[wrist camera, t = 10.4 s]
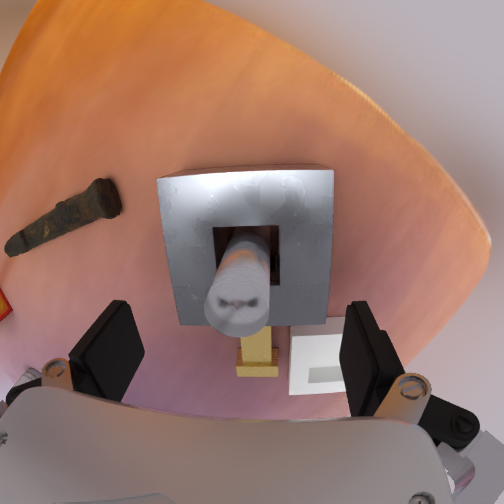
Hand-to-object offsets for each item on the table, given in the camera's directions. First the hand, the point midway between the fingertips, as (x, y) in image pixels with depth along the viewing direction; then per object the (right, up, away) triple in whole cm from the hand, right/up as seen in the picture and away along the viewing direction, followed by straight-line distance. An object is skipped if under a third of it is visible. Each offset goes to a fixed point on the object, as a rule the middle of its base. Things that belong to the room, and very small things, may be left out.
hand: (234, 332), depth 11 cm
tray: (+9, -8, +19) cm, 22 cm away
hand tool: (-21, +7, +16) cm, 27 cm away
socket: (+1, +5, +14) cm, 15 cm away
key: (+1, -3, +17) cm, 18 cm away
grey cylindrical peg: (+1, +5, +14) cm, 15 cm away
